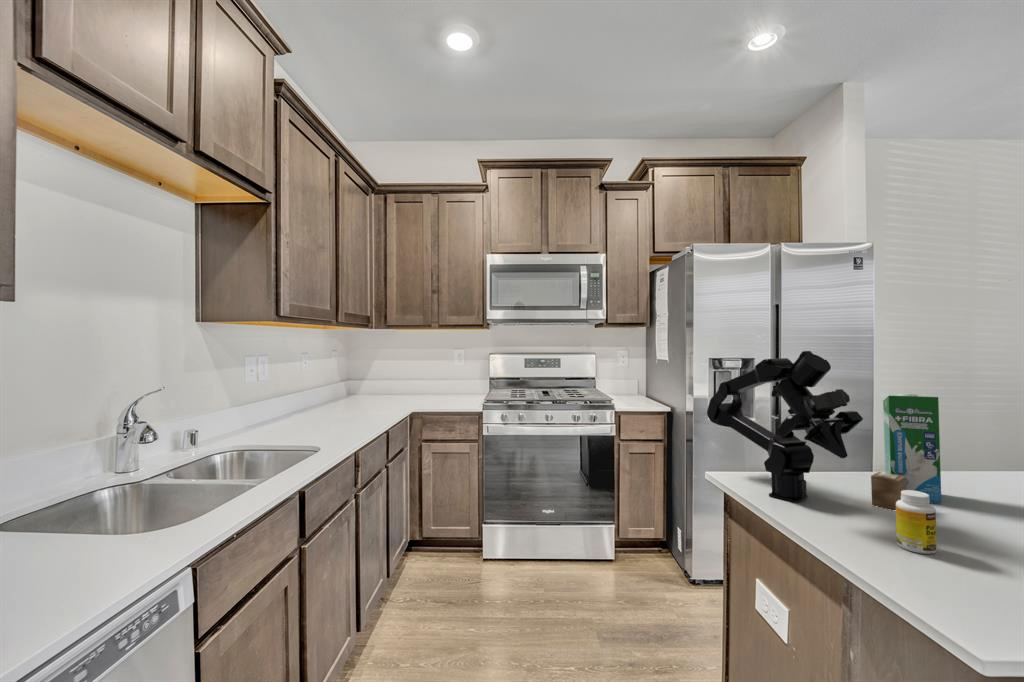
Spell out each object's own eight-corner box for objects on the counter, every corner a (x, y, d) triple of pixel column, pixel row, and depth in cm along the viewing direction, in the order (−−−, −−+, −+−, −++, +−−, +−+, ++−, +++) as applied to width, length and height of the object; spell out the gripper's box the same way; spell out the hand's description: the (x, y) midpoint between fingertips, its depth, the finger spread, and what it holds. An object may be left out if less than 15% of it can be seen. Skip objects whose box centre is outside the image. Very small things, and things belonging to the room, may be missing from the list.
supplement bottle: (931, 558, 80) (929, 500, 80) (892, 547, 85) (890, 492, 85) (941, 549, 83) (939, 494, 83) (902, 539, 88) (901, 486, 88)
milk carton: (932, 492, 113) (929, 392, 113) (941, 504, 105) (938, 396, 106) (885, 487, 118) (882, 391, 118) (891, 497, 110) (888, 395, 110)
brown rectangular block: (871, 505, 106) (871, 474, 106) (879, 501, 109) (878, 471, 109) (899, 512, 102) (898, 479, 102) (906, 507, 104) (905, 475, 104)
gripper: (786, 379, 101) (833, 439, 90) (853, 376, 105) (906, 432, 94) (760, 410, 108) (800, 468, 98) (824, 405, 113) (869, 461, 102)
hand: (844, 457), depth 98 cm, fingers closed
